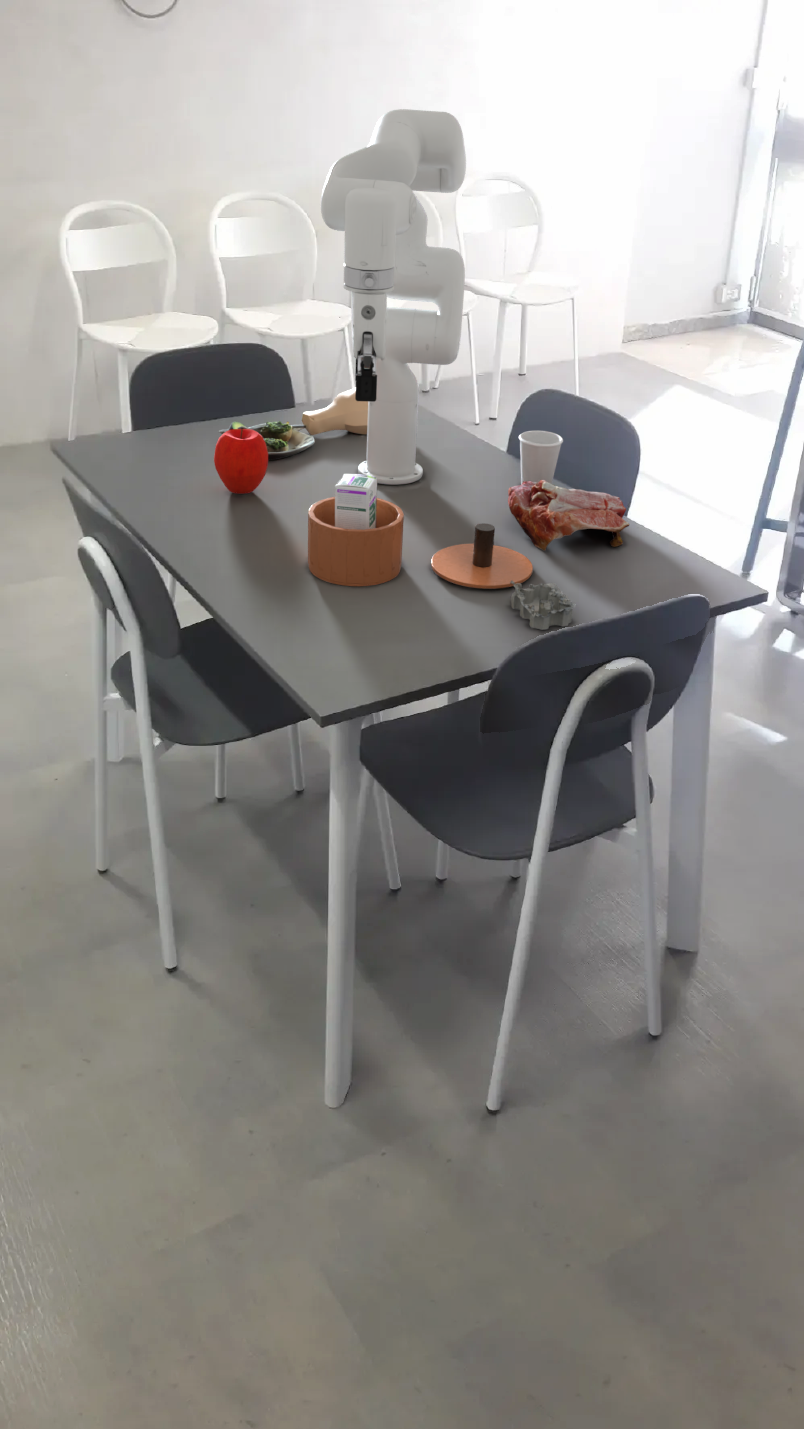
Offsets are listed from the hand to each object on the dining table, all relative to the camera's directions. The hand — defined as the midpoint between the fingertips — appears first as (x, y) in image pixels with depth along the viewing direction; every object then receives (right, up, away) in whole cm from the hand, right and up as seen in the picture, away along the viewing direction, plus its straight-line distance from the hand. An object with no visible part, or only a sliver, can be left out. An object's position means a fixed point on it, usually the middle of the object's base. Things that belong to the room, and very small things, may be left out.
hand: (365, 391), depth 197 cm
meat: (+35, -18, +28) cm, 49 cm away
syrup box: (-2, -26, +11) cm, 28 cm away
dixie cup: (+32, -7, +46) cm, 56 cm away
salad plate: (-22, +4, +60) cm, 64 cm away
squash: (-6, +9, +70) cm, 71 cm away
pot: (-2, -26, +11) cm, 28 cm away
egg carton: (+27, -35, -1) cm, 45 cm away
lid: (+19, -26, +12) cm, 34 cm away
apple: (-24, -9, +37) cm, 45 cm away
